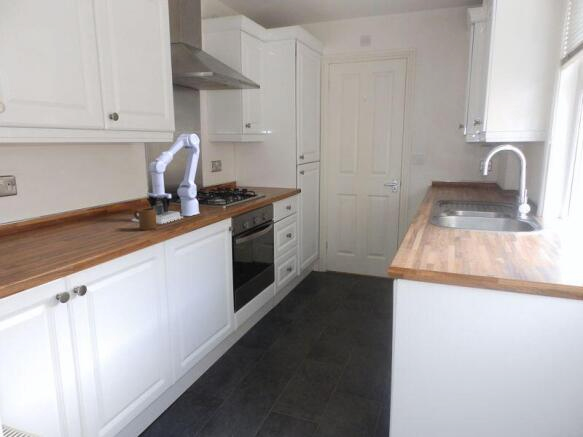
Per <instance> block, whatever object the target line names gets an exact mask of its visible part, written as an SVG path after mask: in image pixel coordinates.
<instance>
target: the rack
mask: <svg viewBox="0 0 583 437" xmlns="http://www.w3.org/2000/svg"><path fill="white" fill-rule="evenodd" d="M180 214H181V213H180V211H171V210H168V212H167V213H163V214H159V215H156V224H158V225H163V223H164V224H168V223H170V221H171V222H174V220H175V221H177V220H178V219H179V220H182V219H184V216H182V215H180ZM137 215H138V216H139V214H138V213H137ZM181 218H182V219H181ZM131 221H132V222H134V223H135V222H137V223H139V220H137V219H136V218H135V217H134V218H132V219H131ZM167 222H168V223H167Z"/></svg>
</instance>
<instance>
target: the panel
mask: <svg viewBox="0 0 583 437" xmlns="http://www.w3.org/2000/svg"><path fill="white" fill-rule="evenodd" d="M153 208H154V209H155V212H156V215H159V214H163V213H167V212H164V209H163V203H161V204H160V203H159V204H157V205H155V206H153Z"/></svg>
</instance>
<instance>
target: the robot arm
mask: <svg viewBox="0 0 583 437" xmlns="http://www.w3.org/2000/svg"><path fill="white" fill-rule="evenodd" d="M182 148H184V149H185V150H187V152H188V156H187V162H186V165H185V166H186V167H185V173H184V177H183V181H181V182H180V184H179V187H178V188H177V195H178V197H179V200H180V207H181V208H180V209H181V213H180V216H183V217H191V216H195V215H198V214H201V212H200V209H199V201H198V200H197V192H198V190H197V185H196V184H195V179H196V173H197V167H198V162H199V158H200V157H199V156H200V138H199V136H198V135H197V134H195V133H183V134H180V135H179V136H178V137H177V139H176V141H175V142H174V143H173V145H171V147H170V148H169V149H168V150H167V151H165V150H164V151H161V152H160V155H159V156H158V157H157V158H155V160H154V161H152V162H150V163H149V165H148V171H149V172H150V176H151V185H152V192H148V193H146V197H147V198H146V200H147V202H148V203H149V206H150V208H153V206H155V205H158V204H157V202H158V199H160V198H161V199H160V200H161V204H163V209H164V212H168V211H169V206H170V203H171V202H172V194H171V193H165V191H166V190H165V182H164V179H165V178H164V172H165V171H166V168H167V166H168V165H169V164H170V163H171V162H172V160H174V155H176V153H178V152H179V151H180V150H181V149H182Z"/></svg>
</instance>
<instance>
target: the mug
mask: <svg viewBox="0 0 583 437" xmlns="http://www.w3.org/2000/svg"><path fill="white" fill-rule="evenodd" d="M132 214H133V217H134V219H135V218H136V219H137V220H139V222H138V223H139V230H140V231H144V232H145V231H146V230H149V231H153V230H156V229H157V227H158V226H157V224H156V212H155V209H154V208H152V207H146V208H145V207H143V208H140V209H139V208H137V209H134V210H133V212H132ZM137 214H139V216H138V215H137Z"/></svg>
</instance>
